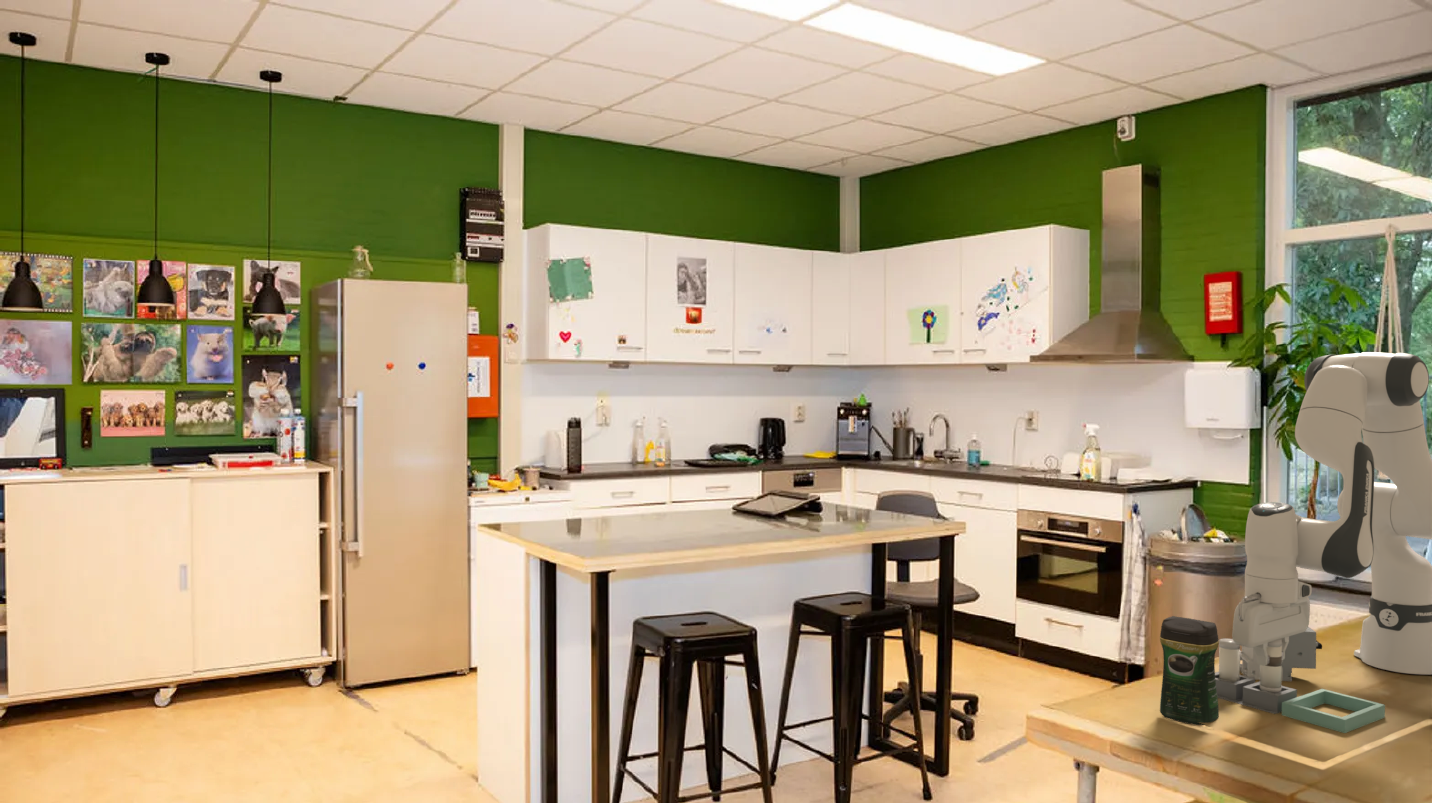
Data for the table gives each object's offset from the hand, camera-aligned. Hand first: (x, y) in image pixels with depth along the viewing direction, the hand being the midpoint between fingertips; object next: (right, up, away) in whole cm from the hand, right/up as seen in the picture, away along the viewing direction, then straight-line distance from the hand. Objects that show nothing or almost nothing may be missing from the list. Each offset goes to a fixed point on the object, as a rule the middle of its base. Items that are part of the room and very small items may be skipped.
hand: (1270, 662), depth 194 cm
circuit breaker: (+11, -8, +18) cm, 23 cm away
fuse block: (-2, -9, +4) cm, 10 cm away
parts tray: (+8, -9, -7) cm, 14 cm away
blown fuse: (0, -6, 0) cm, 6 cm away
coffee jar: (-17, -10, -4) cm, 20 cm away
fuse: (-4, -8, +7) cm, 11 cm away
